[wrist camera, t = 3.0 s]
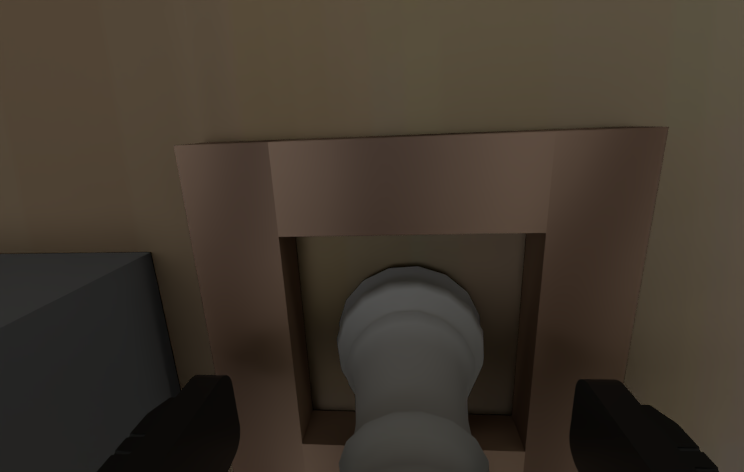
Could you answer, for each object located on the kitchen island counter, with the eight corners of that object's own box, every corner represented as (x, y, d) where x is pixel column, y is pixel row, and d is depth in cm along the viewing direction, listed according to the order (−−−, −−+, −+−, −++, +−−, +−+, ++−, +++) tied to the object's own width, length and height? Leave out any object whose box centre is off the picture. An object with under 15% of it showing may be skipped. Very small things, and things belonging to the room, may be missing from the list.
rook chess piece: (491, 366, 13) (631, 747, 5) (364, 393, 13) (312, 761, 6) (460, 244, 11) (575, 487, 4) (323, 279, 12) (186, 546, 4)
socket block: (630, 126, 10) (668, 126, 9) (578, 475, 13) (600, 516, 12) (202, 142, 11) (173, 145, 10) (254, 462, 14) (238, 498, 13)
